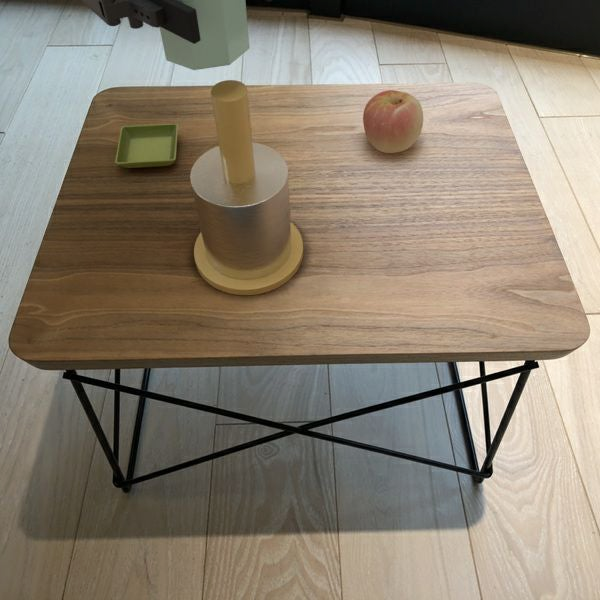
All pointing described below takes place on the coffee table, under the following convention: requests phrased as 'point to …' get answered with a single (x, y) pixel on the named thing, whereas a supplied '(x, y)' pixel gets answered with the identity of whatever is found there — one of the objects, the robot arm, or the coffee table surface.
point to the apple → (393, 121)
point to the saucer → (147, 145)
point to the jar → (211, 35)
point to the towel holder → (243, 205)
